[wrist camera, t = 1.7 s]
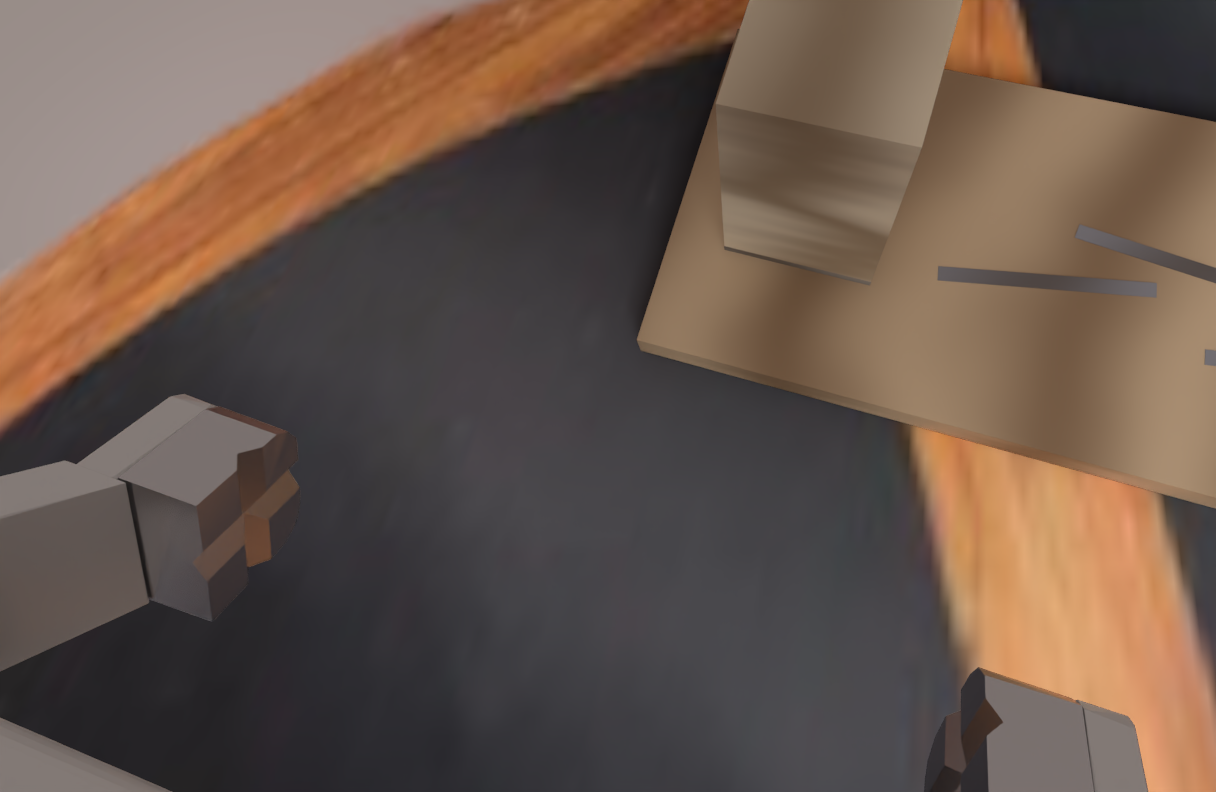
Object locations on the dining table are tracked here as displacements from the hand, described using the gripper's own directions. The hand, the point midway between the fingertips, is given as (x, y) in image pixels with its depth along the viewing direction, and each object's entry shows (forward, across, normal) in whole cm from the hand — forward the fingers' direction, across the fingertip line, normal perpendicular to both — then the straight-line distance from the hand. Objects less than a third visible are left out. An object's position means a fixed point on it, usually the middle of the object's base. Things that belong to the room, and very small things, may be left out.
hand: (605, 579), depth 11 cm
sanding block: (+20, 0, +3) cm, 20 cm away
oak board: (+21, -10, +3) cm, 23 cm away
